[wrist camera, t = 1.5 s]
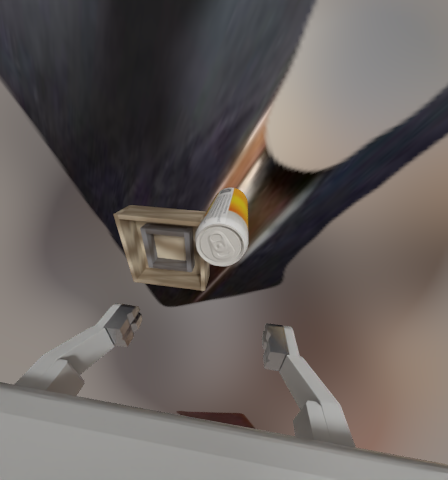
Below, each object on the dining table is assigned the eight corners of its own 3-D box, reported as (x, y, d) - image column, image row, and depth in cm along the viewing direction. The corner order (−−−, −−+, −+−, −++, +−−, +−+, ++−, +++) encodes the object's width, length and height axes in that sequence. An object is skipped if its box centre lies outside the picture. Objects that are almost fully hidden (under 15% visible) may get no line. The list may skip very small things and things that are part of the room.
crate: (130, 205, 34) (113, 214, 29) (209, 211, 32) (203, 222, 28) (145, 267, 42) (133, 281, 37) (209, 275, 40) (204, 290, 36)
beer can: (222, 222, 33) (206, 274, 20) (209, 193, 31) (182, 231, 18) (252, 212, 31) (255, 261, 19) (241, 181, 29) (236, 212, 16)
